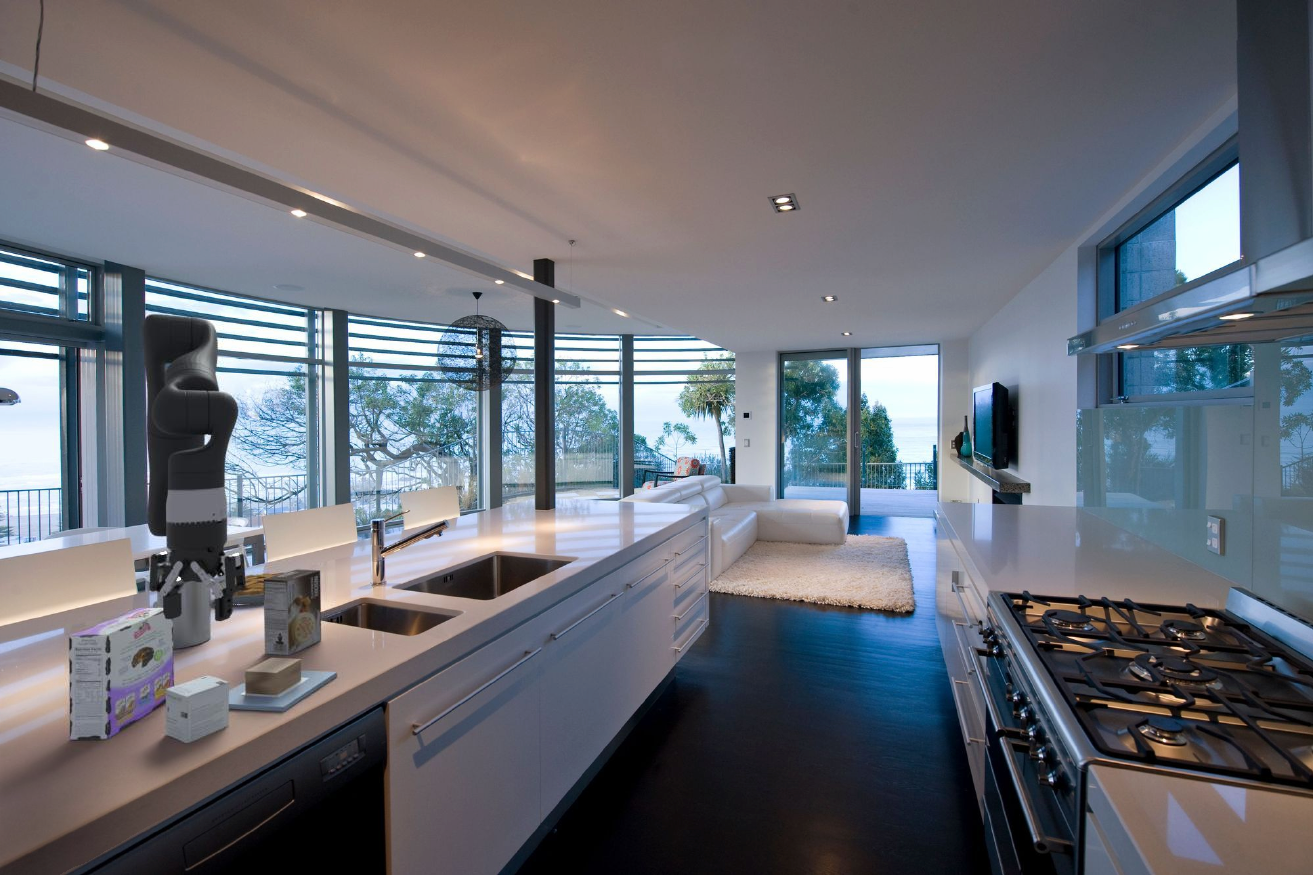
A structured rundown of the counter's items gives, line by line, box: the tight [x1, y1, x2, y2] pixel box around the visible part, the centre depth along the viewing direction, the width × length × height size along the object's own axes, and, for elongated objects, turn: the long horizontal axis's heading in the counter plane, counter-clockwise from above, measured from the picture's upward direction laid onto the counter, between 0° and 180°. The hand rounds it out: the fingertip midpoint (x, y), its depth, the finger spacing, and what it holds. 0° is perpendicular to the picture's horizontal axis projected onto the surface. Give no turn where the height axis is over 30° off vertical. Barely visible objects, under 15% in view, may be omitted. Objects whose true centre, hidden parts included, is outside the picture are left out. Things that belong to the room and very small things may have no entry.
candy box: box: [68, 607, 175, 741], centre depth 95 cm, size 14×6×16 cm, turn 5°
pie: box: [211, 572, 284, 606], centre depth 164 cm, size 22×22×5 cm
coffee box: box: [263, 568, 322, 656], centre depth 126 cm, size 9×6×16 cm
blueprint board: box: [229, 669, 338, 712], centre depth 105 cm, size 14×14×1 cm
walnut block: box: [244, 657, 302, 695], centre depth 105 cm, size 6×6×4 cm
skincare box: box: [165, 674, 230, 744], centre depth 91 cm, size 6×6×7 cm
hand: (198, 618), depth 91 cm, fingers open, 8 cm apart
